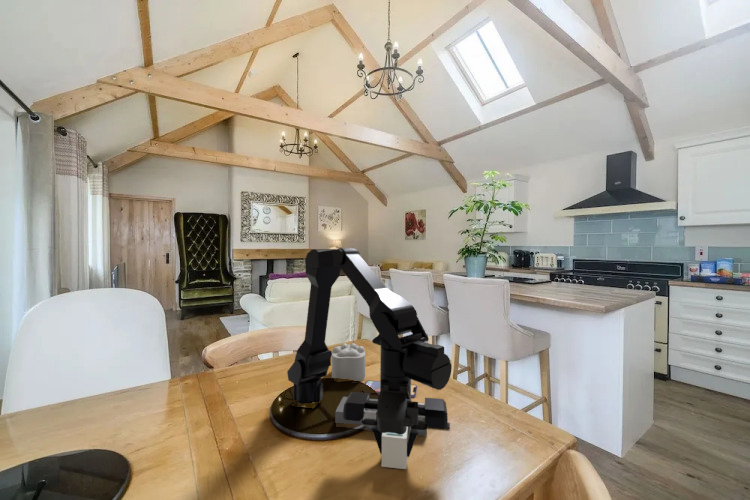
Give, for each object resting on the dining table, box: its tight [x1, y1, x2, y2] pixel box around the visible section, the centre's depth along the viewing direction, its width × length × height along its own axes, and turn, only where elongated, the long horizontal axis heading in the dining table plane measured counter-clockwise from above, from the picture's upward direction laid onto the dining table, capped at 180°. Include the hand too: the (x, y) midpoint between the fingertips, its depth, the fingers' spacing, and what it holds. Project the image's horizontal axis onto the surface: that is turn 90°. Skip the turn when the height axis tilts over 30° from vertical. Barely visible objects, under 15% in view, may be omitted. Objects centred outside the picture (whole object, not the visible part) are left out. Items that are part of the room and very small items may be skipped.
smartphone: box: [364, 380, 418, 399], centre depth 89 cm, size 1×7×15 cm
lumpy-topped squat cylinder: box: [331, 342, 366, 382], centre depth 100 cm, size 10×13×9 cm
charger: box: [381, 427, 409, 470], centre depth 60 cm, size 4×7×6 cm
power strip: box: [334, 396, 451, 437], centre depth 72 cm, size 25×7×4 cm, turn 81°
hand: (395, 454), depth 59 cm, fingers closed on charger, 4 cm apart
